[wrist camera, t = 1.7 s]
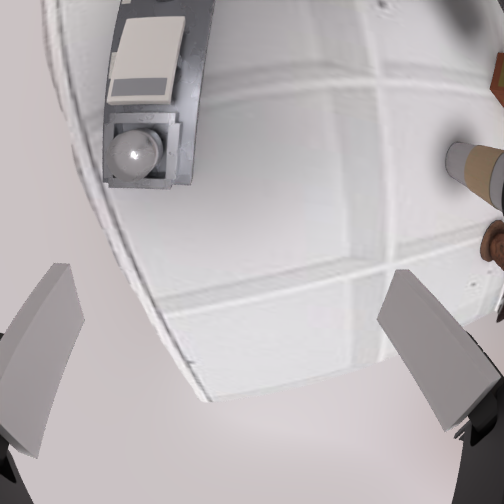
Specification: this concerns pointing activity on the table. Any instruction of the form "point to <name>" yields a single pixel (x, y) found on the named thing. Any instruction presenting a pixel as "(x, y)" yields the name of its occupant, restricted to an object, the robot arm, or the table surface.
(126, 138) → the button
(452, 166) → the coffee cup
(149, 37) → the plate
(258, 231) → the table surface
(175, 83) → the panel
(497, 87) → the box
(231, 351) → the table surface
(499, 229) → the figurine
